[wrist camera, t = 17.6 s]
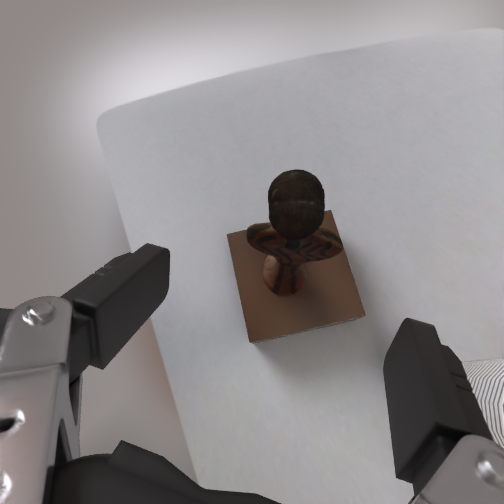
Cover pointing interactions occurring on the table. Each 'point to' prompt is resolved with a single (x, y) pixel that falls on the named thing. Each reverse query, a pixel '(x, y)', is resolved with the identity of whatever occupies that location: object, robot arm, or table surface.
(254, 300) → the walnut block
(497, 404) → the cup
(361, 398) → the table surface
